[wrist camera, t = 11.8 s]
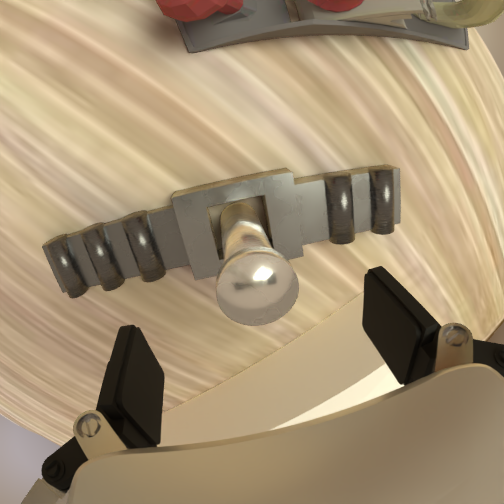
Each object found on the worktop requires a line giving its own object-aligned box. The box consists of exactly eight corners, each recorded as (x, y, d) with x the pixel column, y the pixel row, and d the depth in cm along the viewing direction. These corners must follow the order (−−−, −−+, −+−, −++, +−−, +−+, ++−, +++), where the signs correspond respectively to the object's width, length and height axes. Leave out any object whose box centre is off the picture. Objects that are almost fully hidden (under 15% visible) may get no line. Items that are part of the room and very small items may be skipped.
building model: (369, 283, 29) (416, 340, 20) (413, 369, 38) (442, 412, 29) (110, 433, 36) (102, 481, 28) (202, 474, 45) (204, 513, 37)
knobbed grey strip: (70, 295, 25) (59, 313, 22) (42, 232, 22) (26, 245, 19) (388, 225, 26) (406, 237, 23) (386, 153, 23) (406, 159, 20)
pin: (209, 202, 23) (207, 266, 13) (258, 191, 23) (294, 247, 13) (220, 247, 25) (227, 332, 15) (266, 236, 25) (302, 315, 15)
